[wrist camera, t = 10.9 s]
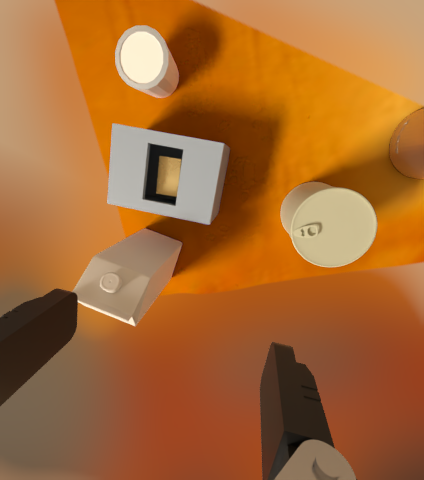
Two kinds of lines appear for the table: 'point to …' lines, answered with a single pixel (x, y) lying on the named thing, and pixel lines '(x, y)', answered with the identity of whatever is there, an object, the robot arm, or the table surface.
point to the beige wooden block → (168, 175)
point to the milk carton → (129, 275)
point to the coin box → (146, 173)
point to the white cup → (146, 62)
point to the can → (328, 223)
